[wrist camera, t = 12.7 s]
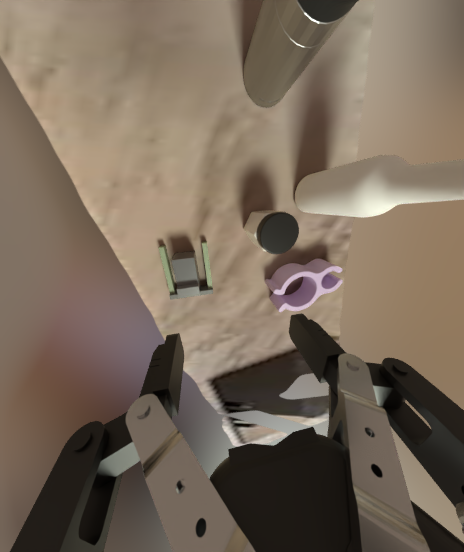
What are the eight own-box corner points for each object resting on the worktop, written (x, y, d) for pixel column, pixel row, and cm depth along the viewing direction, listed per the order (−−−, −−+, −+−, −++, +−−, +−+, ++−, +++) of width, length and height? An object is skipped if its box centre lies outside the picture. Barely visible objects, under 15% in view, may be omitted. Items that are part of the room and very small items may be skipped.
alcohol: (287, 187, 40) (467, 153, 13) (319, 166, 39) (577, 84, 12) (299, 219, 44) (459, 243, 17) (328, 200, 43) (542, 194, 16)
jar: (280, 231, 44) (306, 240, 34) (255, 249, 45) (273, 263, 34) (264, 201, 41) (288, 200, 30) (238, 221, 41) (251, 227, 31)
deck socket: (160, 245, 40) (157, 248, 38) (206, 241, 42) (206, 243, 39) (172, 293, 46) (170, 299, 43) (212, 288, 48) (213, 293, 45)
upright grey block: (175, 253, 42) (170, 262, 35) (194, 250, 42) (193, 259, 36) (181, 284, 46) (178, 298, 39) (200, 281, 46) (199, 295, 39)
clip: (323, 248, 49) (341, 255, 43) (326, 282, 55) (343, 293, 48) (262, 273, 49) (271, 283, 42) (271, 305, 54) (280, 318, 48)
